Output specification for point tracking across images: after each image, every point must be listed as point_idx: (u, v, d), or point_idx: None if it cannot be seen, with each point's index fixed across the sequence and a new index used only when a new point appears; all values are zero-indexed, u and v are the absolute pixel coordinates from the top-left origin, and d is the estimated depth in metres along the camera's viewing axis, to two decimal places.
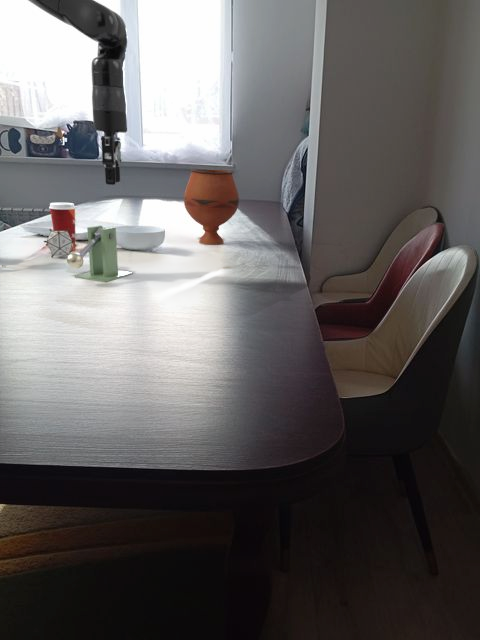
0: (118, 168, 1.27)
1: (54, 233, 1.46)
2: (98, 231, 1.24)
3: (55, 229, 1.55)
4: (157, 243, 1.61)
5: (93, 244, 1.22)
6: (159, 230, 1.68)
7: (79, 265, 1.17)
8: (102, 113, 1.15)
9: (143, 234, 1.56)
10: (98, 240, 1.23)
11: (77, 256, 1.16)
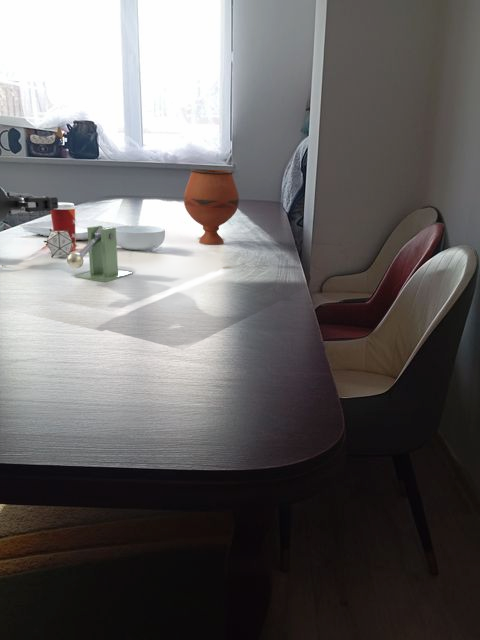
0: None
1: (54, 233, 1.46)
2: (98, 231, 1.24)
3: (55, 229, 1.55)
4: (157, 243, 1.61)
5: (93, 244, 1.22)
6: (159, 230, 1.68)
7: (79, 265, 1.17)
8: None
9: (143, 234, 1.56)
10: (98, 240, 1.23)
11: (77, 256, 1.16)
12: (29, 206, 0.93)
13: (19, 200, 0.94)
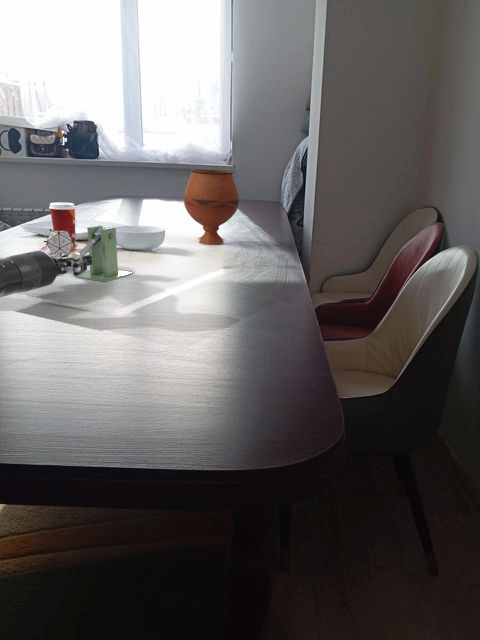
0: None
1: (54, 233, 1.46)
2: (98, 231, 1.24)
3: (55, 229, 1.55)
4: (157, 243, 1.61)
5: (93, 244, 1.22)
6: (159, 230, 1.68)
7: None
8: None
9: (143, 234, 1.56)
10: (98, 240, 1.23)
11: (77, 256, 1.16)
12: (78, 270, 1.10)
13: (65, 266, 1.09)
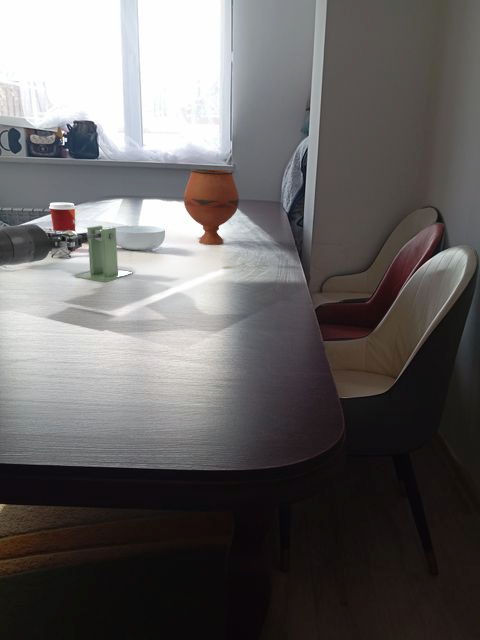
0: None
1: None
2: (99, 229, 1.24)
3: (55, 229, 1.55)
4: (157, 243, 1.61)
5: (91, 236, 1.21)
6: (159, 230, 1.68)
7: None
8: None
9: (143, 234, 1.56)
10: (97, 236, 1.22)
11: None
12: (72, 245, 1.07)
13: (59, 240, 1.06)
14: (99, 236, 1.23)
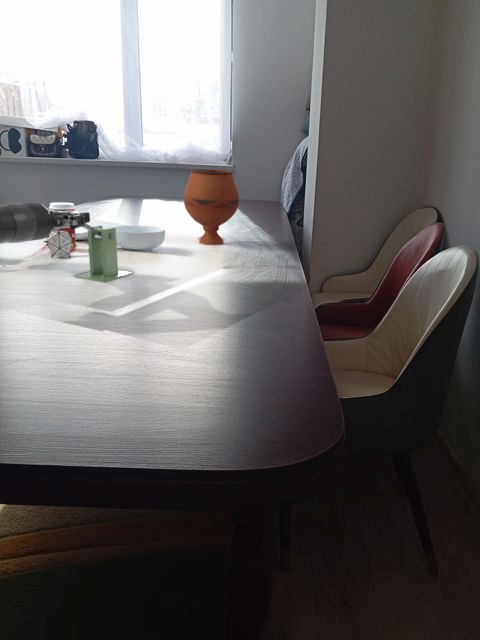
0: None
1: (54, 233, 1.46)
2: None
3: None
4: (157, 243, 1.61)
5: (92, 228, 1.20)
6: (159, 230, 1.68)
7: None
8: None
9: (143, 234, 1.56)
10: (97, 232, 1.22)
11: None
12: (74, 224, 1.06)
13: (61, 218, 1.06)
14: (99, 233, 1.23)
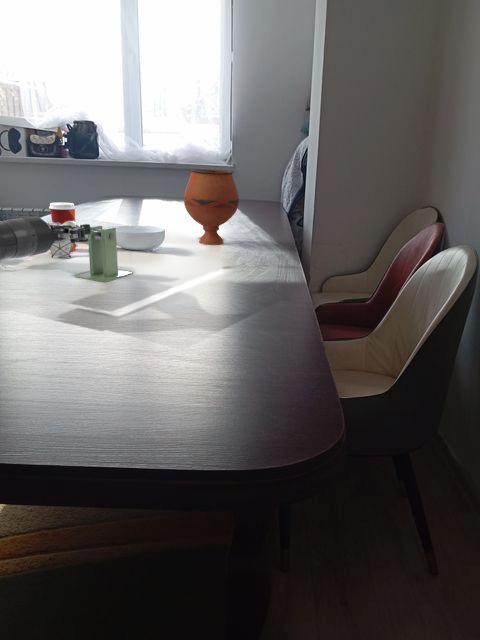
0: None
1: None
2: None
3: None
4: (157, 243, 1.61)
5: (92, 232, 1.20)
6: (159, 230, 1.68)
7: None
8: None
9: (143, 234, 1.56)
10: (97, 234, 1.22)
11: (75, 223, 1.14)
12: (75, 237, 1.07)
13: (61, 232, 1.07)
14: (99, 235, 1.23)
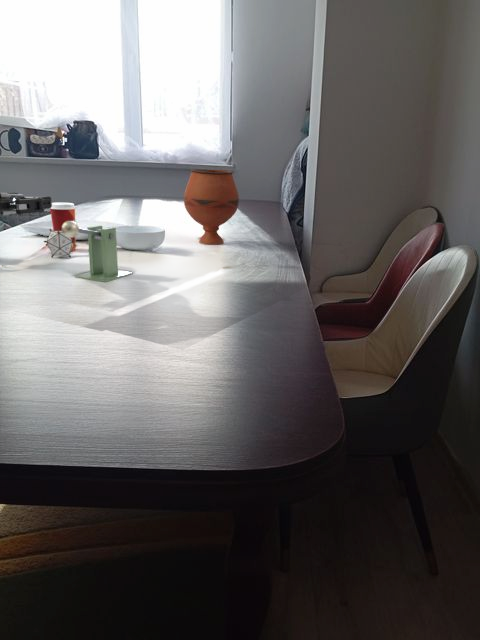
0: None
1: (54, 233, 1.46)
2: None
3: (55, 229, 1.55)
4: (157, 243, 1.61)
5: (92, 232, 1.20)
6: (159, 230, 1.68)
7: (73, 232, 1.13)
8: None
9: (143, 234, 1.56)
10: (97, 234, 1.22)
11: (75, 223, 1.14)
12: (20, 208, 0.93)
13: (10, 202, 0.94)
14: (99, 235, 1.23)
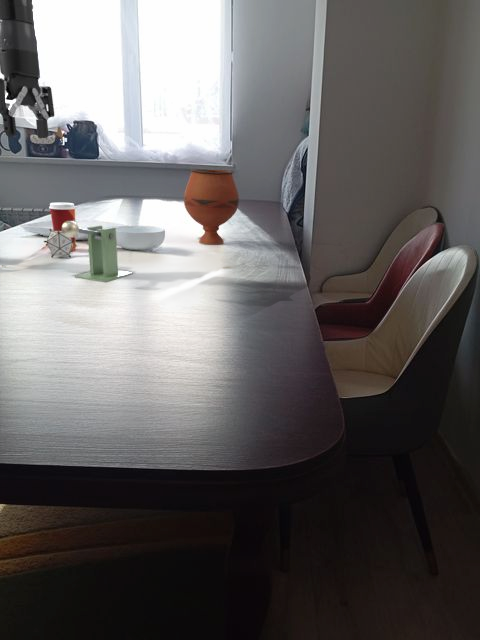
0: (43, 122, 1.11)
1: (54, 233, 1.46)
2: None
3: (55, 229, 1.55)
4: (157, 243, 1.61)
5: (92, 232, 1.20)
6: (159, 230, 1.68)
7: (73, 232, 1.13)
8: (0, 53, 1.00)
9: (143, 234, 1.56)
10: (97, 234, 1.22)
11: (75, 223, 1.14)
12: None
13: None
14: (99, 235, 1.23)
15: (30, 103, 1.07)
